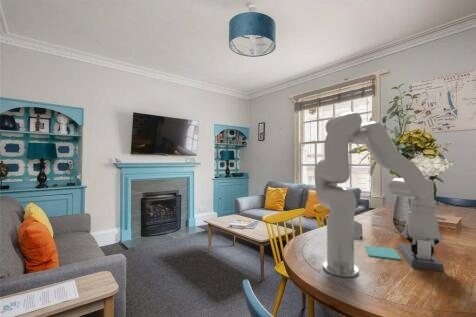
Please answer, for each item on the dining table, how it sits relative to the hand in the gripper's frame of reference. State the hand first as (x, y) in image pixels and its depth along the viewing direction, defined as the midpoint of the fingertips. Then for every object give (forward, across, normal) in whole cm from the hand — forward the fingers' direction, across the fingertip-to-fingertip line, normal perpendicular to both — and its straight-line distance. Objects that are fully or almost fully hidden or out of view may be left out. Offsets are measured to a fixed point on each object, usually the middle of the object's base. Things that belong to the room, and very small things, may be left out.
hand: (422, 254), depth 97 cm
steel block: (+4, 0, 0) cm, 4 cm away
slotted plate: (+4, 0, -6) cm, 7 cm away
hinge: (+4, +26, -31) cm, 41 cm away
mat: (+4, +13, -7) cm, 15 cm away
